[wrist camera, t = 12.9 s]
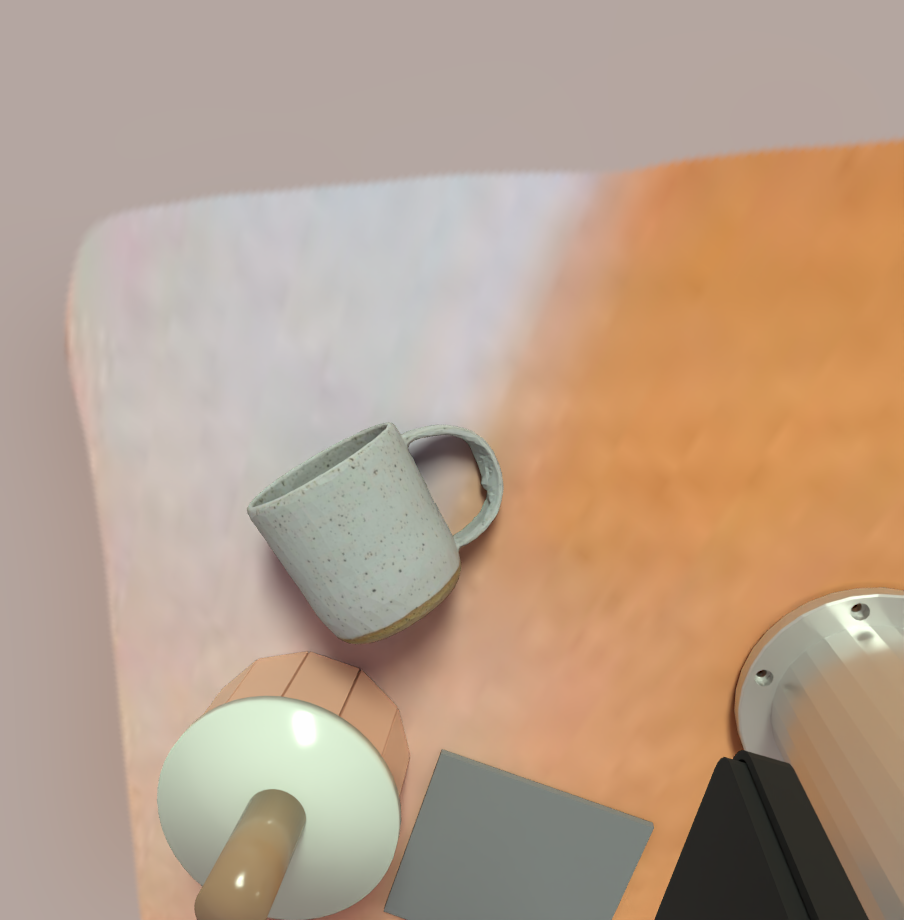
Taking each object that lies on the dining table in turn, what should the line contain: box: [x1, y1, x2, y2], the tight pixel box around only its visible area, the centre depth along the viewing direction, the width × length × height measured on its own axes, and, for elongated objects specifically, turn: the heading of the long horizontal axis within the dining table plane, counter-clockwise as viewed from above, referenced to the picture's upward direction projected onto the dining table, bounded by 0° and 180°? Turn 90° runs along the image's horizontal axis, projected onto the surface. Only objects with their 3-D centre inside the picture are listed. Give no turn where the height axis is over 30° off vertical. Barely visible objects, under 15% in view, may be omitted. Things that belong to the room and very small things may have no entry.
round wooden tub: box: [203, 651, 410, 796], centre depth 42 cm, size 11×11×5 cm
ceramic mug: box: [247, 422, 503, 644], centre depth 37 cm, size 11×8×8 cm
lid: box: [157, 696, 401, 920], centre depth 37 cm, size 12×12×8 cm
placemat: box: [384, 750, 654, 920], centre depth 45 cm, size 12×11×1 cm
